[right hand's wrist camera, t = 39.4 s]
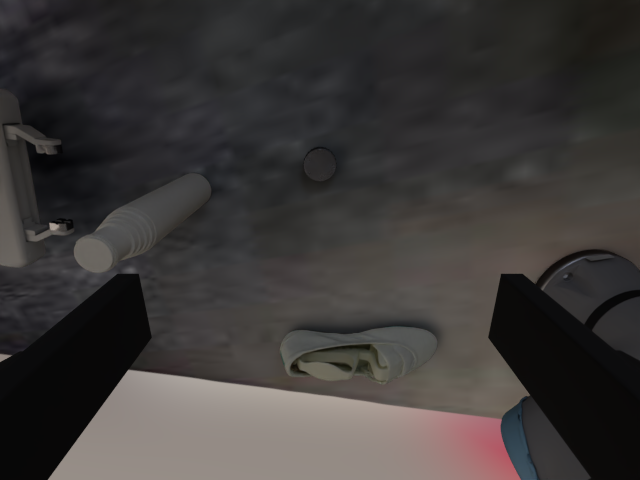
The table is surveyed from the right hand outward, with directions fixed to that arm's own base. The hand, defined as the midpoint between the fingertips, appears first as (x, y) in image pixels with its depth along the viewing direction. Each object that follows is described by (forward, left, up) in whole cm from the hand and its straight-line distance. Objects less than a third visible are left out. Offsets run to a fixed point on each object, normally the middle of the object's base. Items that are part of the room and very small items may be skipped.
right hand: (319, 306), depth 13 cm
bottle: (-3, +17, -36) cm, 39 cm away
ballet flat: (-29, -5, -36) cm, 46 cm away
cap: (0, 0, -34) cm, 34 cm away
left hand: (-1, +29, -28) cm, 41 cm away
